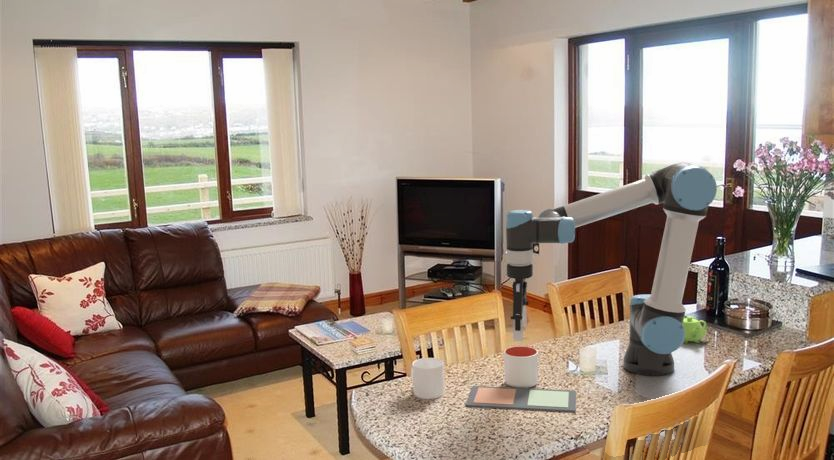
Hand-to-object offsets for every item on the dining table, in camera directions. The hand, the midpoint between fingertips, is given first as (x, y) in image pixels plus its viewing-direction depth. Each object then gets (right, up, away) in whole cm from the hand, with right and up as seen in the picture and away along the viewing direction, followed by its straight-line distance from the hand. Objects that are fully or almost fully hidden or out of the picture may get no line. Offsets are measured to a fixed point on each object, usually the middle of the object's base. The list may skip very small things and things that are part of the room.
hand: (520, 333), depth 216 cm
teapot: (+62, -8, +35) cm, 72 cm away
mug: (-28, -17, -1) cm, 33 cm away
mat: (-1, -17, -9) cm, 20 cm away
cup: (+1, -16, +3) cm, 16 cm away
